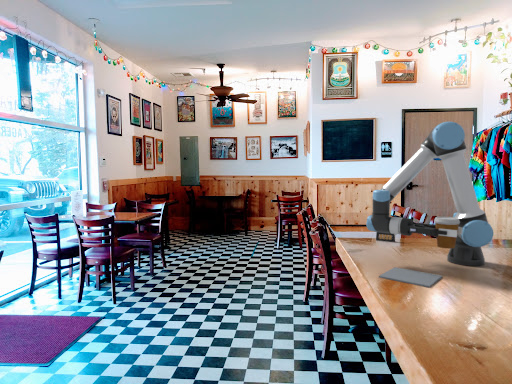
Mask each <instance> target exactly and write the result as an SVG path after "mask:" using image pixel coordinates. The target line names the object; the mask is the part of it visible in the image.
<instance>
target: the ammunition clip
mask: <svg viewBox="0 0 512 384" xmlns="http://www.w3.org/2000/svg"><path fill="white" fill-rule="evenodd" d="M375 234H376V235H375V236H376V237H375V241H379V242H388V243H396V235H394V234H390V233H381V232H376V233H375Z"/></svg>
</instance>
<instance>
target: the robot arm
mask: <svg viewBox="0 0 512 384" xmlns="http://www.w3.org/2000/svg"><path fill="white" fill-rule="evenodd" d="M465 135H466V134H465V130H464V128H463V126H462V125H461V124H459V123H457V122H454V121H443V122H441V123H439V124H437V125H436V126H435V127H434V128H432V130H431V131H430V132H429V134H428V135H427V137H426V138H425V139H424V141H422V143H420V148H419V149H418V150H417V151H416V152H415V153H414V154H413V155H412V156H411V157H410V158H409V159H408V160H407V161H406V162H405V163H404V164H403V165H402V167H400V168H399V170H397V172H396V173H395V174H393V176H392V177H391V178H390V179H389V180H388V181H387V182H386V183H385V184H384V185H383V186H382V187H381V188H380V189H374V190H373V191H372V198H371V199H372V213H371V214H370V215H368V216H367V218H366V223H365V224H366V229H367V230H368V231H371V232H381V233H390V234H394V235H395V236H397V235H398V236H399V235H400V236H401V235H402V236H406V237H407V236H409V237H410V236H411V235H412V234H419V235H427V236H433V237H434V236H435V238H437V237H438V234H439V235H440V236H449V237H456V243H455V248H451V249H449V250H448V253H447V257H446V259H447V262H449V263H453V264H456V265H462V266H470V267H481V266H484V265H485V264H486V263H485V262H486V260H485V255H484V252H483V250H482V247H485V246H487V245H489V244H490V243H491V242H492V240H493V238H494V229H493V227H492V225H491V224H490V223H489V221H488V218H487V215H486V211H484V210H483V209H481V208H480V205H479V202H478V197H477V195H476V191H475V189H474V183H473V182H472V181H473V180H472V177H471V174H470V171H469V167H468V164H467V161H466V158H465V157H466V156H465V152H466V151H467V150H468V149H467V146H466V142H465ZM434 159H440V160H441V161H442V166H443V168H444V172H445V175H446V178H447V182H448V186H449V189H450V193H451V196H452V199H453V200H452V201H453V203H454V206H455V210H456V212H454V213H453V216H452V217H455V218H459V221H460V223H459V226H458V231H457V230H449V229H439V230H438V229H436V226H435V223H433V224H432V223H423V222H416V223H414V220H413V219H412V218H410V217H409V218H407V217H399V216H398V217H397V216H390V212H391V211H390V208H391V202H392V201H393V200H394V199H395V198H396V197H397V196H398V195H399V194H400V193H401V192H402V191H403V190H404V189H405V188H406V187H407V186H408V185H409V184H410V183H411V181H412V180H414V179H416V178H415V177H417V176H418V175H419V174H420V173H421V172H422V171H423V170H424V169H425V168H426V167H427V165H429V164H430V162H432V161H433V160H434Z"/></svg>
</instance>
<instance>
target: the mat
mask: <svg viewBox="0 0 512 384" xmlns="http://www.w3.org/2000/svg"><path fill="white" fill-rule="evenodd" d="M378 278H381V279H386V280H391V281H396V282H400V283H404V284H410V285H415V286H419V287H424V288H431V287H432V286H433V285H434V284H436V283H437V282H438V281H439V280H441V279H442V278H443V275H442V274H441V275H440V274H436V273H435V274H434V273H429V272H425V271H424V272H423V271H419V270H414V269H407V268H402V267H401V268H400V267H396V266H395V267H393V268H391V269H388V270H387V271H385V272H383V273H382V274H380V275H378Z"/></svg>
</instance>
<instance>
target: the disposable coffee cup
mask: <svg viewBox="0 0 512 384" xmlns="http://www.w3.org/2000/svg"><path fill="white" fill-rule="evenodd" d="M433 221H434V224H435V226H436V229H438V230H439V229H449V230H457V231H458V226H459V223H460V221H459V218H455V217H453V216H436V217H435V218H434V220H433ZM455 243H456V237H449V236H440V235H439V234H438V237H436V244H437V247H438V248H441V249H449V250H450V249H451V248H455Z"/></svg>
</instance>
